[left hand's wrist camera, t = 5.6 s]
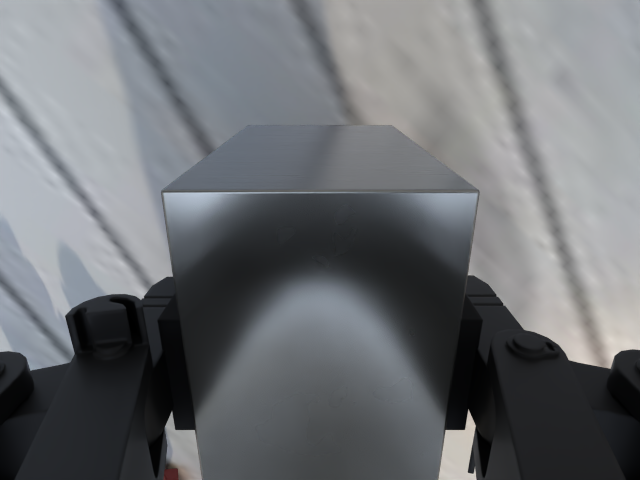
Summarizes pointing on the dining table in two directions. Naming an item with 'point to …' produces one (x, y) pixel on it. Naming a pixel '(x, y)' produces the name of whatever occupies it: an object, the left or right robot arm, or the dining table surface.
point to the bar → (320, 301)
